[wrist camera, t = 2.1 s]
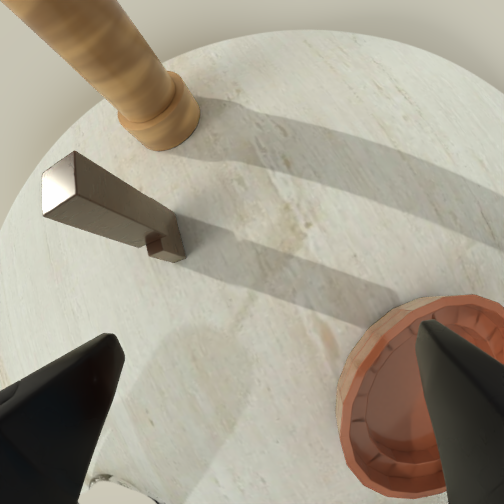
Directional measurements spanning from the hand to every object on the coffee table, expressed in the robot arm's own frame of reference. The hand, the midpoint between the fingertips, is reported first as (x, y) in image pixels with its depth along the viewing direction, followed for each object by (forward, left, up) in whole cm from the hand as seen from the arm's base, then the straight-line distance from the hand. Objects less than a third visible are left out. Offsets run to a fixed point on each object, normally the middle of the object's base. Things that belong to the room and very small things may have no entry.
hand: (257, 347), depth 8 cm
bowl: (+1, -12, -14) cm, 18 cm away
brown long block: (-1, +11, -14) cm, 18 cm away
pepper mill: (+7, +19, -14) cm, 25 cm away
